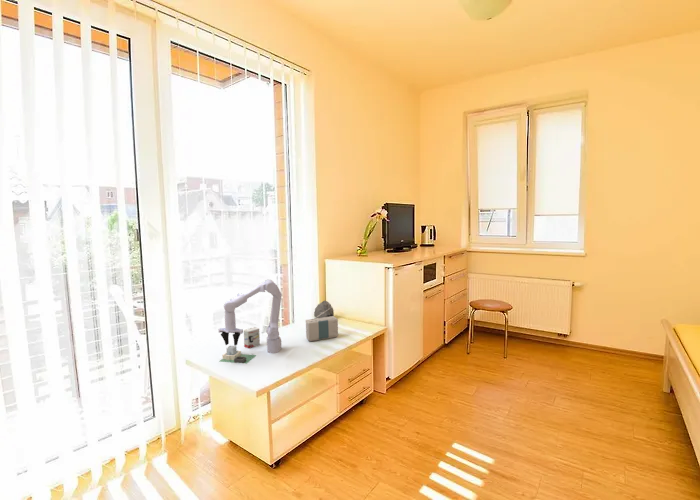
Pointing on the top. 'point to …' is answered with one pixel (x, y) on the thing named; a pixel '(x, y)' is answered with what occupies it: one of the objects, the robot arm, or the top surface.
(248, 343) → the ink box
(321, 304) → the decorative rock
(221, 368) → the top surface
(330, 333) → the stereo radio cassette player
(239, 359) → the block
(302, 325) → the top surface
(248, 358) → the board
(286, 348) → the top surface
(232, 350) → the plug
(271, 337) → the robot arm
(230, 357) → the frame
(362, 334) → the top surface
